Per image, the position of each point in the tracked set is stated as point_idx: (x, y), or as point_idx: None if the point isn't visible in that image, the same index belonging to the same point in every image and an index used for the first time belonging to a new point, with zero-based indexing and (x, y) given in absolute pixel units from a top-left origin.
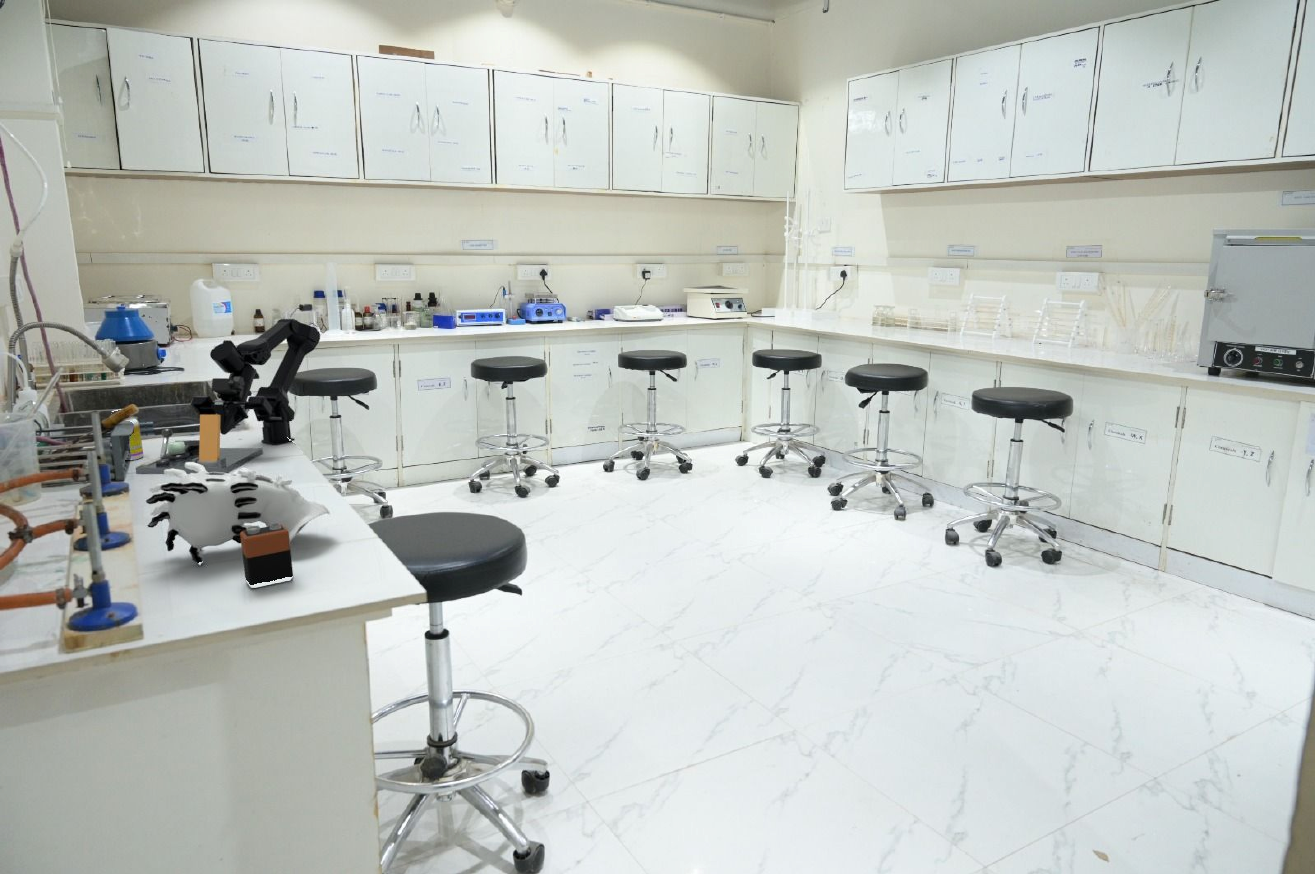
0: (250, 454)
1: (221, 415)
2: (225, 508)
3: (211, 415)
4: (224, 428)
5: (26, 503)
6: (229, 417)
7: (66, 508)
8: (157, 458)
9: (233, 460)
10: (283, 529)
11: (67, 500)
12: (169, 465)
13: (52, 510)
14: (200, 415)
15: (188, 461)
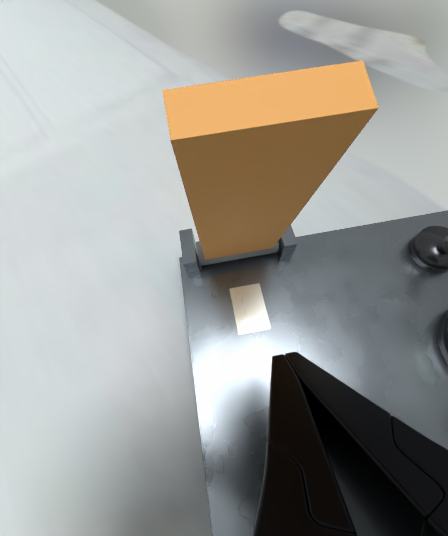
0: (208, 496)
1: (437, 478)
2: None
3: (234, 87)
4: (280, 371)
5: (420, 43)
6: (291, 474)
7: (321, 41)
8: None
9: (215, 359)
10: None
11: (369, 62)
12: (395, 246)
13: (333, 33)
14: (351, 70)
15: (384, 307)
